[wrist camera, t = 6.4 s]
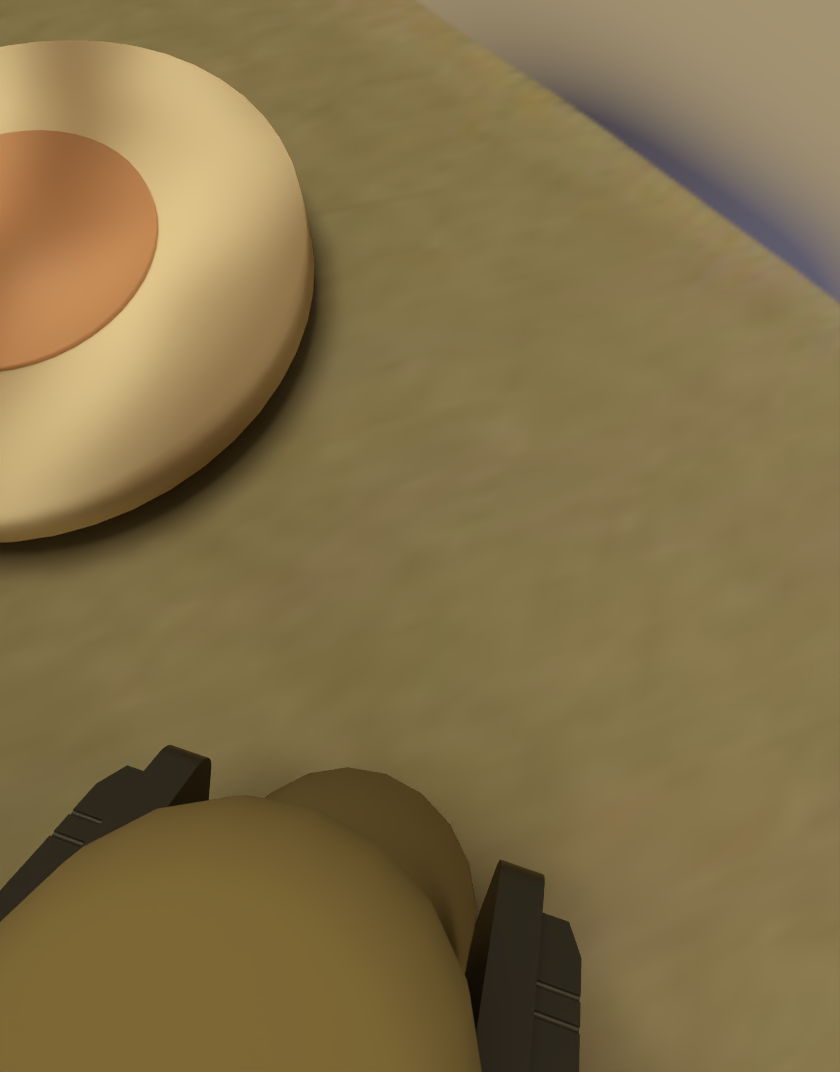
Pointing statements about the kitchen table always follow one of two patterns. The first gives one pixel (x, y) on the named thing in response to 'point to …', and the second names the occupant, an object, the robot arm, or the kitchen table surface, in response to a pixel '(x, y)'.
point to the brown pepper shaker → (250, 940)
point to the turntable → (135, 277)
